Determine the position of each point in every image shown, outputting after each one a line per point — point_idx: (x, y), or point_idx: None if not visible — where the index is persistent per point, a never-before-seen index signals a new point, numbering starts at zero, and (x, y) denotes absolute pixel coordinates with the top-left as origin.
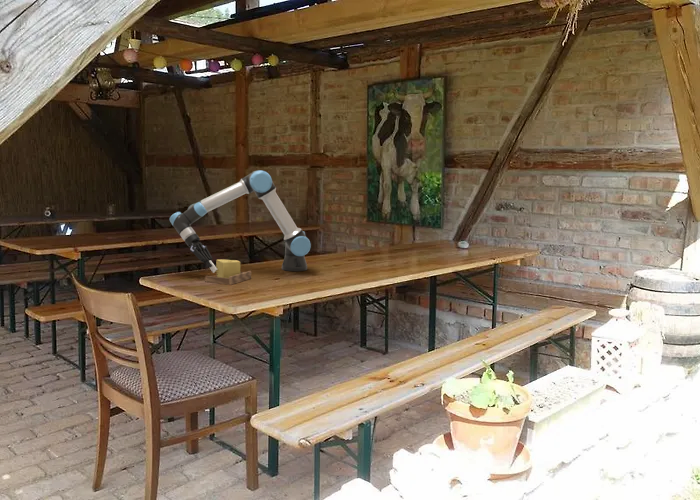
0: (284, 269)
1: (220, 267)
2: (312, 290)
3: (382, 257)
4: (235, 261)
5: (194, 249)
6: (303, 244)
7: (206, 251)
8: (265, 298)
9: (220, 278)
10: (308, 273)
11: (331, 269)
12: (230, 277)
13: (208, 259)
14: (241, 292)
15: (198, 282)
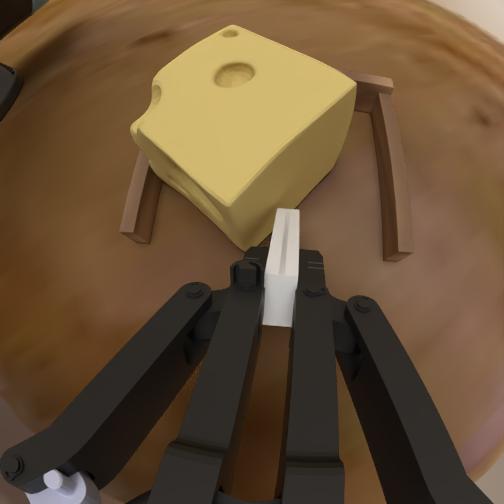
0: (3, 112)
1: (309, 154)
2: None
3: None
4: (236, 42)
5: (476, 489)
6: None
7: (126, 413)
8: (445, 15)
9: (399, 142)
10: (52, 46)
11: (10, 56)
12: (391, 83)
13: (202, 342)
14: (449, 56)
15: (429, 290)
